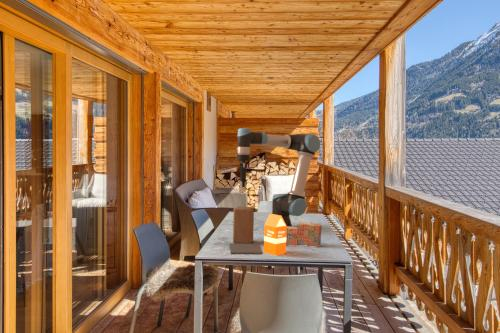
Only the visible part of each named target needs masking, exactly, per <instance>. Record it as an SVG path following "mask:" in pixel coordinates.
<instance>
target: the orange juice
mask: <svg viewBox="0 0 500 333" xmlns="http://www.w3.org/2000/svg"><path fill="white" fill-rule="evenodd" d="M286 228H287V226H286V224H285V222H284V220H283V218H282V216H280V215H275V214H272V213H269V214H268V217H267V219H266V221H265V223H264V229H263V230H264V232H263V234H264V235H263V253H266V254H269V255H272V256H275V255H276V256H280V254H281V255H285V254H284V253H287V244H286Z"/></svg>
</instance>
